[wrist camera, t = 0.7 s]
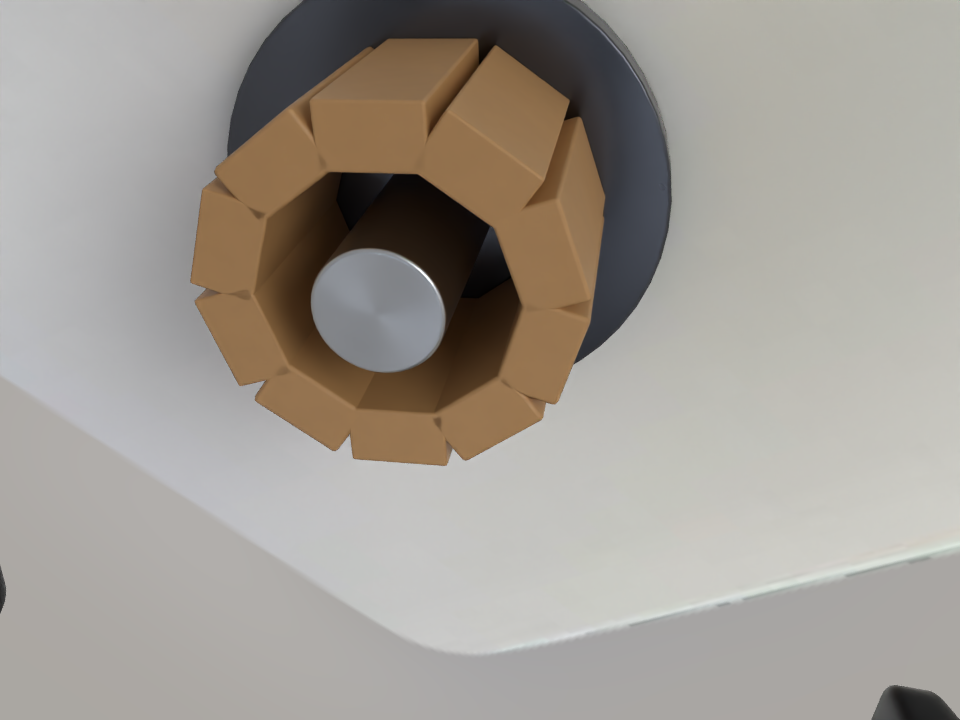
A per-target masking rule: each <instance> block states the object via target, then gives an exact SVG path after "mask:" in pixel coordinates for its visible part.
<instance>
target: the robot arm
mask: <svg viewBox="0 0 960 720" xmlns="http://www.w3.org/2000/svg"><path fill="white" fill-rule="evenodd" d="M5 596H6V586H5V582H4V578H3V574H2V571H1V567H0V613H1V610H2V608H3V605H4V602H5ZM872 720H960V719H959V718H958V717H957V716H956V715H955V713H954V712H953V711H952V710H951V709H950V708H949V707H948V705H947V704H946V703H945V702H944V701H943V700H942V699H941V698H940V697H939V696H938V695H936V694H935V693H933V692H931V691H927V690H921V689H916V688H909V687H904V686H898V685H893V686H889V687H888V688H887V689H886V690H885V691H884V692H883V694H882V696H881V698H880V701H879V703H878V705H877V708H876V710H875V712H874V715H873V717H872Z"/></svg>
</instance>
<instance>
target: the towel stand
mask: <svg viewBox="0 0 960 720" xmlns="http://www.w3.org/2000/svg"><path fill="white" fill-rule="evenodd" d="M387 39H477V40H478V48H479V65H480V64H481V62H482V61H483V60H484V58H485V57H486V56H487V55H488V53H489V52H490V51H491V49H492V48H493V47H494V46H495V45H496V46H498V47H500V48H501V49H502V50H504V51H505V52H506V53H508V54H509V55H510V56H511V57H513V58H514V59H515V60H517V61H518V62H519V63H521V64H522V65H523V66H525V67H526V68H527V69H529V70H530V71H531V72H533V73H534V74H535V75H537V76H538V77H539V78H541V79H542V80H543V81H545V82H546V83H547V84H549V85H550V86H551V87H553V88H554V89H555V90H557V91H558V92H559V93H561V94H562V95H563V96H565V97H566V98H567V99H569V101H570V102H569V105H568V108H567V112H566V115H565V118H564V121H565V120H568V119H571V118H575V117H580V118H581V119H582V122H583V125H584V128H585V132H586V135H587V138H588V142H589V145H590V148H591V151H592V155H593V158H594V161H595V165H596V168H597V171H598V175H599V178H600V181H601V185H602V188H603V191H604V195H605V203H604V210H603V217H604V225H603V232H602V240H601V247H600V255H599V262H598V269H597V277H596V284H595V292H594V299H593V306H592V314H591V321H590V324H589V327H588V329H587V332H586V334H585V337H584V339H583V342H582V344H581V347H580V349H579V352H578V354H577V356H576V359H575V361H574V364H575V363H577V362H579V361H580V360H582V359H583V358H584V357H586V356H587V355H589V354H590V353H591V352H593V351H594V350H595V349H597V348H598V347H599V346H601V345H602V344H603V343H604V342H605V341H606V340H607V339H608V338H609V337H610V336H611V335H612V334H613V333H615V332H616V331H617V330H618V329H619V328H620V327H621V325H622V324H623V323H624V322H625V320H626V319H627V318H628V317H629V315H630V314H631V313H632V312H633V310H634V309H635V308H636V307H637V305H638V303H639V302H640V300H641V298H642V297H643V295H644V293H645V291H646V290H647V288H648V286H649V285H650V283H651V281H652V278H653V276H654V273H655V271H656V269H657V266H658V264H659V262H660V259H661V256H662V252H663V248H664V245H665V241H666V237H667V233H668V228H669V220H670V211H671V203H672V197H671V161H670V154H669V148H668V142H667V135H666V130H665V127H664V123H663V120H662V117H661V114H660V110H659V107H658V104H657V101H656V99H655V97H654V94H653V92H652V90H651V88H650V86H649V84H648V82H647V79H646V77H645V75H644V73H643V72H642V70H641V68H640V67H639V65H638V64H637V62H636V61H635V59H634V57H633V56H632V54H631V53H630V51H629V50H628V48H627V47H626V46H625V44H624V43H623V42H622V41H621V40H620V38H619V37H618V36H617V35H616V34H615V33H614V31H613V30H612V29H611V28H610V27H609V26H608V24H607V23H606V22H605V21H604V20H602V19H601V18H600V17H599V16H598V15H597V14H596V13H595V12H593V11H592V10H591V9H590V8H589V7H588V6H587V5H586V4H584V3H583V2H582V1H581V0H303V1H302V2H301V3H300V4H299V5H298V6H297V7H295V8H294V9H293V10H292V11H291V12H290V13H289V14H287V15H286V16H285V17H284V18H283V19H282V20H281V22H280V23H279V24H278V25H277V26H276V27H275V29H274V30H273V31H272V32H271V33H270V35H269V36H268V37H267V38H266V39H265V41H264V42H263V44H262V45H261V47H260V49H259V50H258V52H257V54H256V55H255V57H254V58H253V60H252V62H251V63H250V65H249V67H248V70H247V72H246V74H245V77H244V79H243V81H242V84H241V86H240V88H239V91H238V94H237V98H236V101H235V105H234V109H233V113H232V116H231V122H230V130H229V138H228V146H227V150H228V157H229V156H230V155H231V154H232V153H233V152H234V151H236V150H237V149H238V148H239V147H240V146H242V145H243V144H244V143H245V142H246V141H248V140H249V139H250V138H251V137H252V136H254V135H255V134H256V133H257V132H258V131H259V130H261V129H262V128H263V127H264V126H265V125H267V124H268V123H269V122H270V121H271V120H273V119H274V118H275V117H276V116H277V115H278V114H280V113H281V112H282V111H283V110H284V109H286V108H287V107H288V106H290V105H291V104H292V103H294V102H295V101H296V100H298V99H299V98H300V97H302V96H303V95H304V94H306V93H307V92H308V91H310V90H311V89H312V88H314V87H315V86H316V85H318V84H319V83H320V82H322V81H323V80H324V79H326V78H327V77H328V76H330V75H331V74H332V73H334V72H335V71H336V70H338V69H339V68H340V67H342V66H343V65H344V64H345V63H347V62H348V61H349V60H351V59H352V58H353V57H355V56H356V55H357V54H359V53H360V52H361V51H363V50H364V49H365V48H367V47H372V48H373V49H376V48H377V47H378V46H380V45H381V44H382V43H383V42H385V41H386V40H387ZM336 201H337V203H338V206H339V208H340V210H341V212H342V215H343V217H344V219H345V222H346V224H347V226H348V229H349V231H350V232H349V234H348V235H347V236H346V237H345V239H344V240H343V241H342V243H341V244H340V245H339V247H338V248H337V249H336V251H335V252H334V253H333V254H332V256H331V257H330V258H329V260H328V261H327V262H326V264H325V265H324V266H323V268H322V269H321V270H320V272H319V273H318V275H317V277H316V279H315V281H314V284H313V287H312V292H311V310H312V315H313V319H314V322H315V325H316V328H317V330H318V331H319V333H320V335H321V337H322V338H323V340H324V341H325V342H326V344H327V345H328V346H329V347H330V348H331V349H332V350H333V351H334V352H335V353H336V354H337V355H339V356H340V357H341V358H343V359H344V360H346V361H347V362H349V363H351V364H353V365H355V366H357V367H359V368H362V369H365V370H369V371H373V372H381V373H394V372H401V371H405V370H408V369H411V368H413V367H416V366H418V365H420V364H421V363H423V362H425V361H426V360H427V359H428V358H430V357H431V356H432V355H433V354H434V352H435V351H436V350H437V349H438V347H439V346H440V344H441V342H442V340H443V337H444V335H445V333H446V330H447V328H448V326H449V323H450V321H451V318H452V316H453V314H454V311H455V309H456V307H457V304H458V302H459V299H460V298H480V297H482V296H483V295H485V294H486V293H488V292H489V291H491V290H493V289H494V288H496V287H497V286H499V285H500V284H502V283H504V282H505V281H507V280H508V279H510V278H511V274H510V272H509V269H508V266H507V263H506V260H505V258H504V255H503V252H502V249H501V247H500V244H499V241H498V238H497V236H496V233H495V230H494V228H493V227H491V226H490V225H489V224H487V223H486V222H484V221H483V220H482V219H480V218H479V217H477V216H476V215H475V214H473V213H472V212H470V211H469V210H468V209H466V208H465V207H463V206H462V205H461V204H459V203H458V202H456V201H455V200H453V199H452V198H451V197H449V196H448V195H446V194H445V193H444V192H442V191H441V190H439V189H438V188H437V187H435V186H434V185H432V184H431V183H430V182H428V181H427V180H425V179H424V178H423V177H421V176H420V175H418V174H389V173H346V172H342V175H341V180H340V184H339V189H338V194H337V198H336Z"/></svg>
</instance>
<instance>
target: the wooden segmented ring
mask: <svg viewBox="0 0 960 720" xmlns="http://www.w3.org/2000/svg"><path fill="white" fill-rule="evenodd" d="M569 102H570V101H569V99H567V98H566V97H565V96H563V95H562V94H561V93H559V92H558V91H557V90H555V89H554V88H553V87H551V86H550V85H549V84H547V83H546V82H545V81H543V80H542V79H541V78H539V77H538V76H537V75H535V74H534V73H533V72H531V71H530V70H529V69H527V68H526V67H525V66H523V65H522V64H521V63H519V62H518V61H517V60H515V59H514V58H513V57H511V56H510V55H509V54H508V53H506V52H505V51H504V50H502V49H501V48H500V47H498V46H496V45H495V46H494V47H493V48H492V49H491V51H490V52H489V53H488V55H487V56H486V57H485V58H484V60H483V61H482V62H481V64H480V65H479V48H478V40H477V39H387V40H386V41H385V42H383V43H382V44H381V45H380V46H378V47H377V48H376V49H373V48H372V47H367V48H365V49H364V50H363V51H361V52H360V53H359V54H357V55H356V56H355V57H353V58H352V59H351V60H349V61H348V62H347V63H345V64H344V65H343V66H342V67H340V68H339V69H338V70H336V71H335V72H334V73H332V74H331V75H330V76H328V77H327V78H326V79H324V80H323V81H322V82H320V83H319V84H318V85H316V86H315V87H314V88H312V89H311V90H310V91H308V92H307V93H306V94H304V95H303V96H302V97H300V98H299V99H298V100H296V101H295V102H294V103H292V104H291V105H290V106H288V107H287V108H286V109H284V110H283V111H282V112H281V113H280V114H278V115H277V116H276V117H275V118H274V119H273V120H271V121H270V122H269V123H268V124H267V125H265V126H264V127H263V128H262V129H261V130H259V131H258V132H257V133H256V134H255V135H254V136H252V137H251V138H250V139H249V140H248V141H246V142H245V143H244V144H243V145H242V146H240V147H239V148H238V149H237V150H236V151H234V152H233V153H232V154H231V155H230V156H229V157H227V158H226V159H225V160H224V161H223V162H221V163H220V164H219V165H218V166H217V167H216V169H215V171H214V172H215V175H216V176H217V178H216V179H214V180H213V181H212V182H211V183H209V184H208V185H207V186H206V187H204V188H203V189H202V195H201V203H200V210H199V218H198V226H197V234H196V241H195V249H194V257H193V265H192V272H191V280H190V281H191V283H192V284H195V285H198V286H201V287H204V288H207V289H206V290H205V291H204V292H203V293H202V294H201V295H200V296H199V297H198V298H197V299H196V300H195V304H196V306H197V308H198V310H199V312H200V314H201V315H202V317H203V319H204V321H205V323H206V325H207V327H208V328H209V330H210V332H211V334H212V336H213V338H214V340H215V341H216V343H217V345H218V347H219V349H220V351H221V353H222V355H223V356H224V358H225V360H226V362H227V364H228V366H229V368H230V369H231V371H232V373H233V375H234V377H235V379H236V381H237V383H238V384H239V386H244V385H248V384H252V383H256V382H260V381H264V380H266V381H265V382H264V384H263V385H262V387H261V388H260V390H259V391H258V393H257V394H256V396H255V401H256V402H257V403H259V404H260V405H262V406H264V407H265V408H267V409H268V410H270V411H271V412H273V413H274V414H276V415H278V416H279V417H281V418H282V419H284V420H285V421H287V422H289V423H290V424H292V425H293V426H295V427H296V428H298V429H299V430H301V431H303V432H304V433H306V434H307V435H309V436H310V437H312V438H314V439H315V440H317V441H318V442H320V443H321V444H323V445H324V446H326V447H328V448H329V449H331V450H332V451H336V450H338V449H339V447H340V446H341V445H342V444H343V442H344V441H345V440H346V438H347V437H348V436H349V434H350V438H351V447H352V455H353V458H354V459H360V460H374V461H387V462H401V463H414V464H427V465H441V466H446V465H447V463H448V461H449V458H450V454H451V451H452V448H453V449H454V450H455V451H456V452H457V453H458V454H459V456H460V457H461V458H462V459H463V460H465V461H466V460H469V459H470V458H472V457H474V456H476V455H478V454H480V453H482V452H483V451H485V450H487V449H489V448H491V447H493V446H494V445H496V444H498V443H500V442H502V441H504V440H505V439H507V438H509V437H511V436H513V435H515V434H517V433H518V432H520V431H522V430H524V429H526V428H528V427H529V426H531V425H533V424H535V423H537V422H539V421H540V420H542V418H543V416H544V411H545V405H546V402H547V403H550V404H556V403H557V402H558V401H559V398H560V396H561V393H562V391H563V388H564V386H565V383H566V381H567V379H568V376H569V374H570V371H571V369H572V366H573V364H574V361H575V359H576V356H577V354H578V352H579V349H580V347H581V344H582V342H583V339H584V337H585V334H586V332H587V329H588V327H589V324H590V321H591V314H592V306H593V299H594V292H595V284H596V277H597V269H598V262H599V255H600V247H601V240H602V232H603V225H604V217H603V210H604V203H605V195H604V191H603V188H602V185H601V181H600V178H599V175H598V171H597V168H596V165H595V161H594V158H593V155H592V151H591V148H590V145H589V142H588V138H587V135H586V132H585V128H584V125H583V122H582V119H581V118H580V117H575V118H571V119H568V120H565V121H564V118H565V115H566V112H567V108H568V105H569ZM342 172H346V173H389V174H418V175H420V176H421V177H423V178H424V179H425V180H427V181H428V182H430V183H431V184H432V185H434V186H435V187H437V188H438V189H439V190H441V191H442V192H444V193H445V194H446V195H448V196H449V197H451V198H452V199H453V200H455V201H456V202H458V203H459V204H461V205H462V206H463V207H465V208H466V209H468V210H469V211H470V212H472V213H473V214H475V215H476V216H477V217H479V218H480V219H482V220H483V221H484V222H486V223H487V224H489V225H490V226H491V227H493V228H494V230H495V233H496V236H497V238H498V241H499V244H500V247H501V249H502V252H503V255H504V258H505V260H506V263H507V266H508V269H509V272H510V274H511V278H510V279H508V280H507V281H505V282H504V283H502V284H500V285H499V286H497V287H496V288H494V289H493V290H491V291H489V292H488V293H486V294H485V295H483V296H482V297H480V298H460V299H459V302H458V304H457V307H456V309H455V311H454V314H453V316H452V318H451V321H450V323H449V326H448V328H447V330H446V333H445V335H444V337H443V340H442V342H441V344H440V346H439V347H438V349H437V350H436V351H435V352H434V354H433V355H432V356H431V357H430V358H428V359H427V360H426V361H425V362H423V363H421V364H420V365H418V366H416V367H413V368H411V369H408V370H405V371H401V372H394V373H381V372H373V371H369V370H365V369H362V368H359V367H357V366H355V365H353V364H351V363H349V362H347V361H346V360H344V359H343V358H341V357H340V356H339V355H337V354H336V353H335V352H334V351H333V350H332V349H331V348H330V347H329V346H328V345H327V344H326V342H325V341H324V340H323V338H322V337H321V335H320V333H319V331H318V330H317V328H316V325H315V322H314V319H313V315H312V310H311V292H312V287H313V284H314V281H315V279H316V277H317V275H318V273H319V272H320V270H321V269H322V268H323V266H324V265H325V264H326V262H327V261H328V260H329V258H330V257H331V256H332V254H333V253H334V252H335V251H336V249H337V248H338V247H339V245H340V244H341V243H342V241H343V240H344V239H345V237H346V236H347V235H348V234H349V232H350V231H349V229H348V226H347V224H346V222H345V219H344V217H343V215H342V212H341V210H340V208H339V206H338V203H337V201H336V198H337V194H338V189H339V184H340V180H341V175H342Z"/></svg>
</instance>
